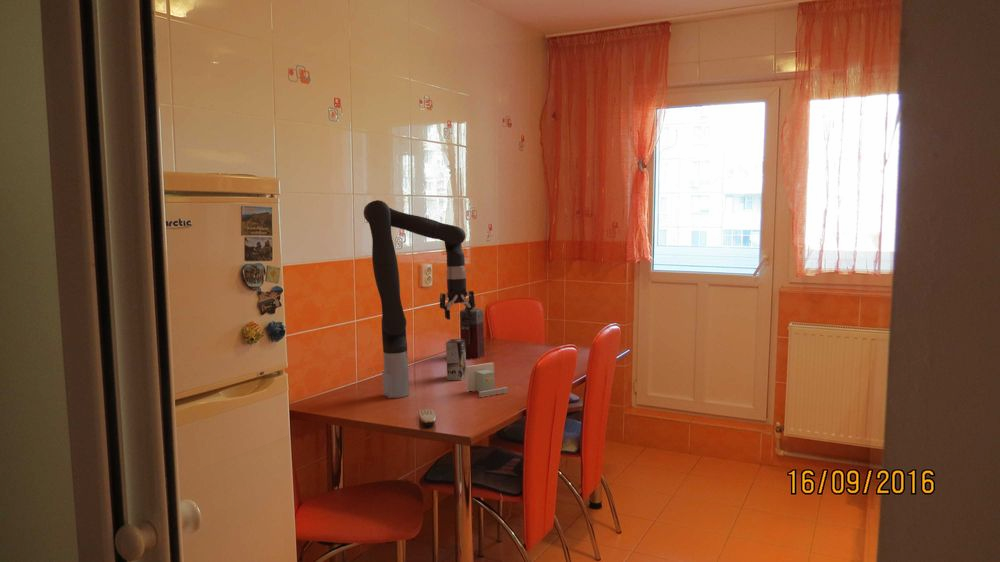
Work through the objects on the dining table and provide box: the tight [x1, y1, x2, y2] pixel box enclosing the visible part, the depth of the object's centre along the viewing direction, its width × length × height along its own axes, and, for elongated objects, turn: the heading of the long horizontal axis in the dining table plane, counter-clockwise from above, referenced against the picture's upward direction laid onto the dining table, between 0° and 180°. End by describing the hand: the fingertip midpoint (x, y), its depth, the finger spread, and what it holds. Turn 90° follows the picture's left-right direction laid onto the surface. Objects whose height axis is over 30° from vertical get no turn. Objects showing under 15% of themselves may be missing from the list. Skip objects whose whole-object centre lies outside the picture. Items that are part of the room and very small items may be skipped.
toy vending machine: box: [459, 300, 485, 359], centre depth 339 cm, size 9×11×28 cm
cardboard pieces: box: [465, 362, 509, 398], centre depth 270 cm, size 12×11×10 cm
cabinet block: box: [475, 370, 496, 393], centre depth 271 cm, size 5×7×8 cm
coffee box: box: [445, 338, 467, 381], centre depth 297 cm, size 9×6×16 cm
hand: (457, 318), depth 277 cm, fingers open, 8 cm apart
